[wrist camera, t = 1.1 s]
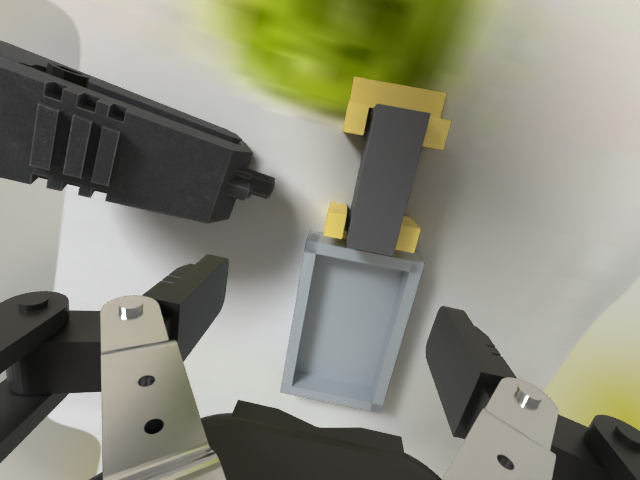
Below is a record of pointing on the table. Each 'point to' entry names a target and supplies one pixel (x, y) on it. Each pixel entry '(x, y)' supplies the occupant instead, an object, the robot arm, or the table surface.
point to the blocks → (361, 100)
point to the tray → (348, 322)
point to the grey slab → (385, 177)
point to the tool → (117, 143)
